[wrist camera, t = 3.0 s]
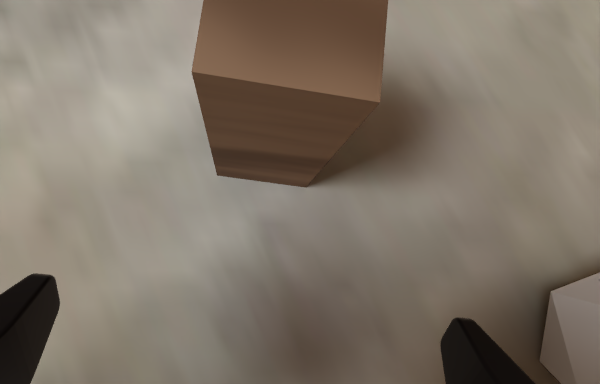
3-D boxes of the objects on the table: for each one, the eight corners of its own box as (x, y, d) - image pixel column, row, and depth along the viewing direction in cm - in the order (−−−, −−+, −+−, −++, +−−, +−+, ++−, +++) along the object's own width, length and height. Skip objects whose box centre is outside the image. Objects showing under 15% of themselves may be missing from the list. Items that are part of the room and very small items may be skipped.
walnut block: (305, 187, 24) (380, 102, 11) (217, 175, 24) (191, 71, 11) (314, 104, 25) (392, -60, 12) (229, 91, 24) (219, -96, 12)
